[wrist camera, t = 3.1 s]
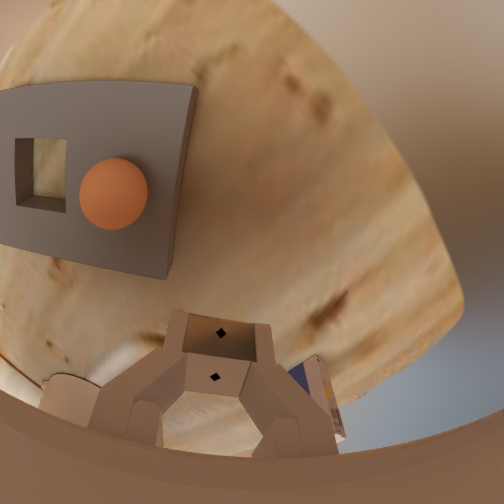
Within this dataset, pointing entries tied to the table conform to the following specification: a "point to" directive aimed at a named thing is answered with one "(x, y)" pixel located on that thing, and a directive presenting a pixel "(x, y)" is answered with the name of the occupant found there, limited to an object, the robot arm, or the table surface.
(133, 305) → the table surface
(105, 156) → the pocket board
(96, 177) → the ball
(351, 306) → the table surface
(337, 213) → the table surface
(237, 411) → the table surface
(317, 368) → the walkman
